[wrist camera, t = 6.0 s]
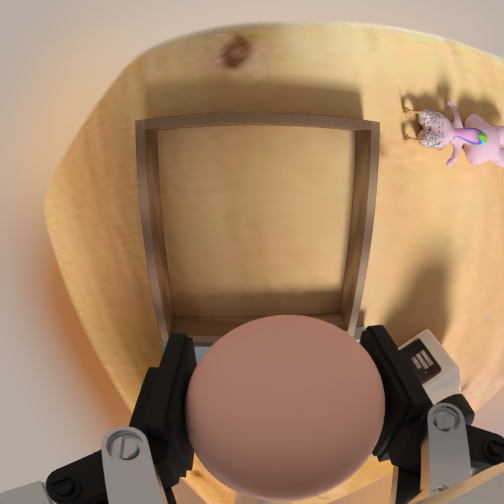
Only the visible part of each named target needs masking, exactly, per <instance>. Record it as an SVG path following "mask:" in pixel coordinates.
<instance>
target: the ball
mask: <svg viewBox="0 0 504 504" xmlns="http://www.w3.org/2000/svg"><path fill="white" fill-rule="evenodd" d="M184 411H185V425H186V430H187V434H188V438H189V441H190V443H191V445H192V447H193V449H194V451H195V453H196V455H197V457H198V458H199V460H200V461H201V463H202V464H203V465H204V467H205V468H206V469H207V470H208V471H209V472H210V473H211V474H212V475H213V476H214V477H215V478H216V479H217V480H219V481H220V482H221V483H223V484H224V485H226V486H227V487H229V488H231V489H232V490H234V491H237V492H239V493H241V494H243V495H246V496H249V497H252V498H256V499H260V500H265V501H275V502H287V501H298V500H303V499H308V498H311V497H315V496H318V495H321V494H323V493H326V492H328V491H330V490H332V489H333V488H335V487H337V486H338V485H340V484H342V483H343V482H345V481H346V480H347V479H349V478H350V477H351V476H352V475H353V474H354V473H355V472H357V471H358V470H359V469H360V467H361V466H362V465H363V464H364V463H365V461H366V460H367V459H368V457H369V456H370V454H371V453H372V451H373V449H374V447H375V446H376V444H377V442H378V439H379V436H380V434H381V431H382V427H383V423H384V417H385V393H384V388H383V383H382V380H381V377H380V374H379V372H378V369H377V367H376V365H375V363H374V362H373V360H372V358H371V357H370V355H369V354H368V352H367V351H366V350H365V349H364V348H363V347H362V346H361V345H360V344H359V342H358V341H357V340H356V339H354V338H353V337H352V336H350V335H349V334H348V333H346V332H345V331H343V330H342V329H340V328H338V327H337V326H335V325H333V324H330V323H327V322H325V321H322V320H320V319H316V318H312V317H308V316H300V315H276V316H269V317H264V318H260V319H257V320H254V321H250V322H248V323H246V324H243V325H241V326H239V327H237V328H235V329H233V330H231V331H230V332H229V333H227V334H226V335H224V336H223V337H222V338H220V339H219V340H218V341H217V342H216V343H215V344H214V345H212V346H211V347H210V348H209V350H208V351H207V352H206V353H205V355H204V356H203V357H202V359H201V360H200V361H199V363H198V365H197V366H196V368H195V370H194V372H193V374H192V376H191V378H190V382H189V385H188V388H187V392H186V396H185V407H184Z"/></svg>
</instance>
